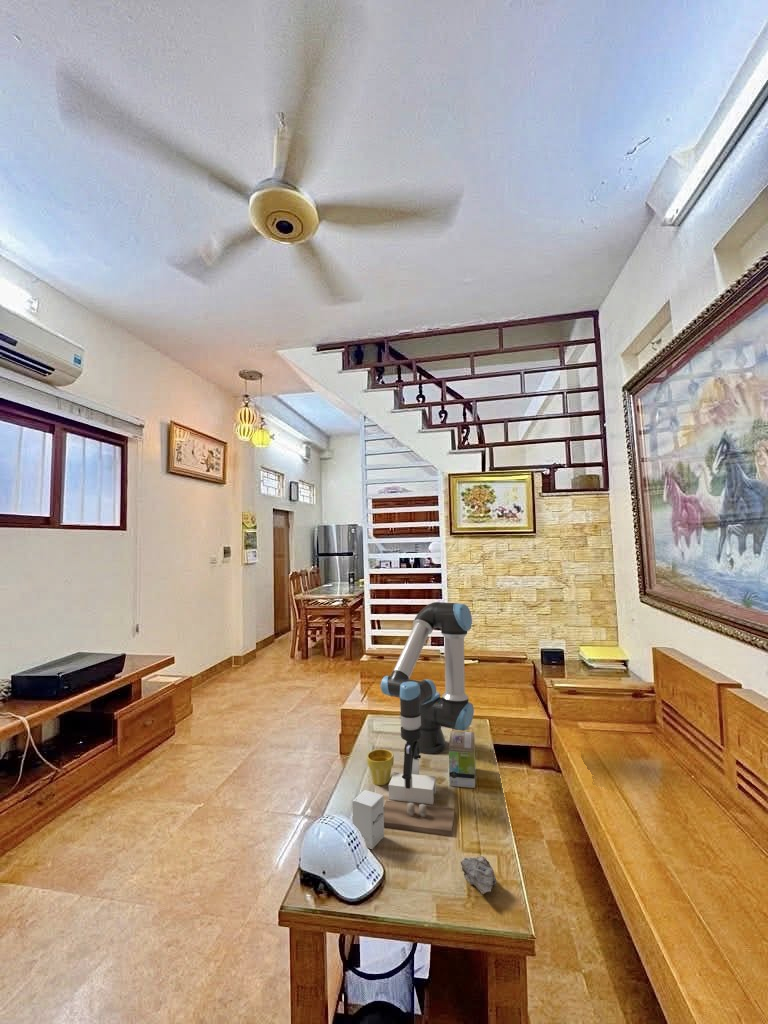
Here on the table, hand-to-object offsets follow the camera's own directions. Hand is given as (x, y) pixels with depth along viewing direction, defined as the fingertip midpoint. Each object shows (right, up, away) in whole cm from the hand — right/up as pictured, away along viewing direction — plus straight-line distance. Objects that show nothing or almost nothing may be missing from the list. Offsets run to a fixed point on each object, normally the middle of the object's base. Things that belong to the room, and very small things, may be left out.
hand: (412, 786), depth 160 cm
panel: (0, -3, 0) cm, 3 cm away
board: (+1, -2, -15) cm, 15 cm away
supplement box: (-15, -2, -24) cm, 28 cm away
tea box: (+21, -4, +11) cm, 24 cm away
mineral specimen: (+15, +1, -45) cm, 47 cm away
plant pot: (-12, -4, +10) cm, 16 cm away
